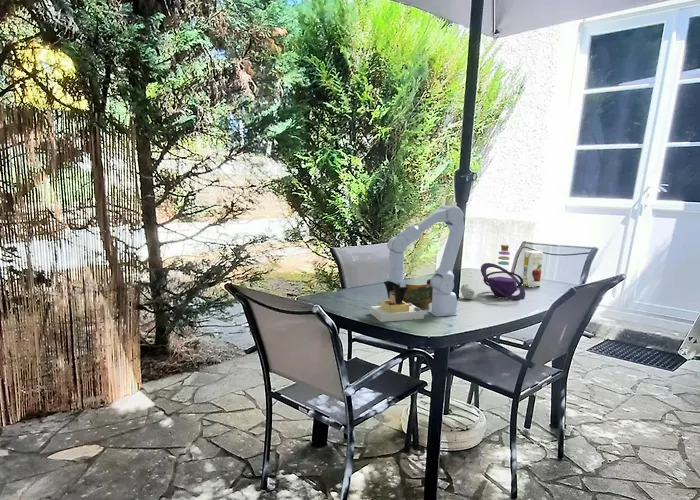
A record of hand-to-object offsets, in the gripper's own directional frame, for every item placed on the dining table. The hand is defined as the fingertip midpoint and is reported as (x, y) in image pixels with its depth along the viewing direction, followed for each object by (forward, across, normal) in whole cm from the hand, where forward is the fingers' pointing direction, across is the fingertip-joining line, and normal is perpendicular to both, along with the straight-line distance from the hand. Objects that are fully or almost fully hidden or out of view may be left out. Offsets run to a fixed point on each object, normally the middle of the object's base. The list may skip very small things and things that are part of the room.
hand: (394, 301), depth 179 cm
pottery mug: (+6, -35, +38) cm, 52 cm away
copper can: (+3, 0, 0) cm, 3 cm away
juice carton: (+6, -36, +95) cm, 102 cm away
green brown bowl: (+6, -15, +16) cm, 23 cm away
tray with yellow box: (+6, 0, +1) cm, 6 cm away
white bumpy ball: (+6, -19, +45) cm, 49 cm away
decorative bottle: (+6, -19, +64) cm, 67 cm away
